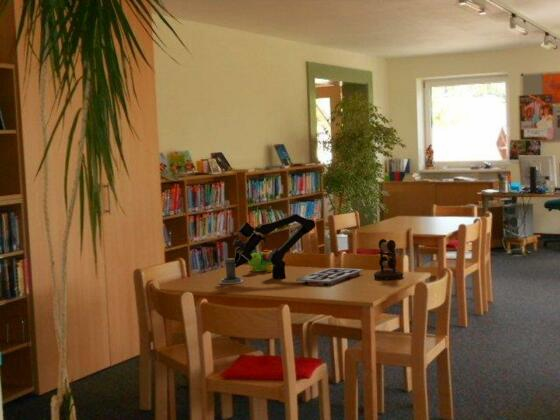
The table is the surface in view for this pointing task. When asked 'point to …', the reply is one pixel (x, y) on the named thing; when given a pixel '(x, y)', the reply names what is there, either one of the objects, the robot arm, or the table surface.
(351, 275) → the maze game
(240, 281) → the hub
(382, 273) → the dark figurine on base
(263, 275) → the table surface
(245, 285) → the table surface
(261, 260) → the turtle toy
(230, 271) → the knob
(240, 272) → the table surface
